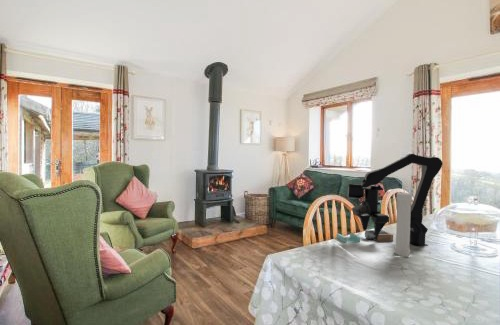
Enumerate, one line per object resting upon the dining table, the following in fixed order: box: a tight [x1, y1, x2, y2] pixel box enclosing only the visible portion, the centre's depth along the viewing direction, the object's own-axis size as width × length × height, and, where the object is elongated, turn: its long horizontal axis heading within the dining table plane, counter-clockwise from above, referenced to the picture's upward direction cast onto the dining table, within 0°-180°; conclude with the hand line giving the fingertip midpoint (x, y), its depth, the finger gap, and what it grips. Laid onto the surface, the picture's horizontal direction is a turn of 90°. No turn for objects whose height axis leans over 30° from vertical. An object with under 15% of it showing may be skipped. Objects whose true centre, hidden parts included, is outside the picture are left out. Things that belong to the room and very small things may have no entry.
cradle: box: [336, 232, 361, 243], centre depth 130 cm, size 7×8×2 cm
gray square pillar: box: [394, 178, 413, 258], centre depth 113 cm, size 6×6×30 cm
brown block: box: [373, 230, 394, 243], centre depth 132 cm, size 7×7×4 cm
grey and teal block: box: [364, 229, 386, 240], centre depth 132 cm, size 8×4×4 cm, turn 100°
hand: (370, 233), depth 131 cm, fingers open, 9 cm apart
